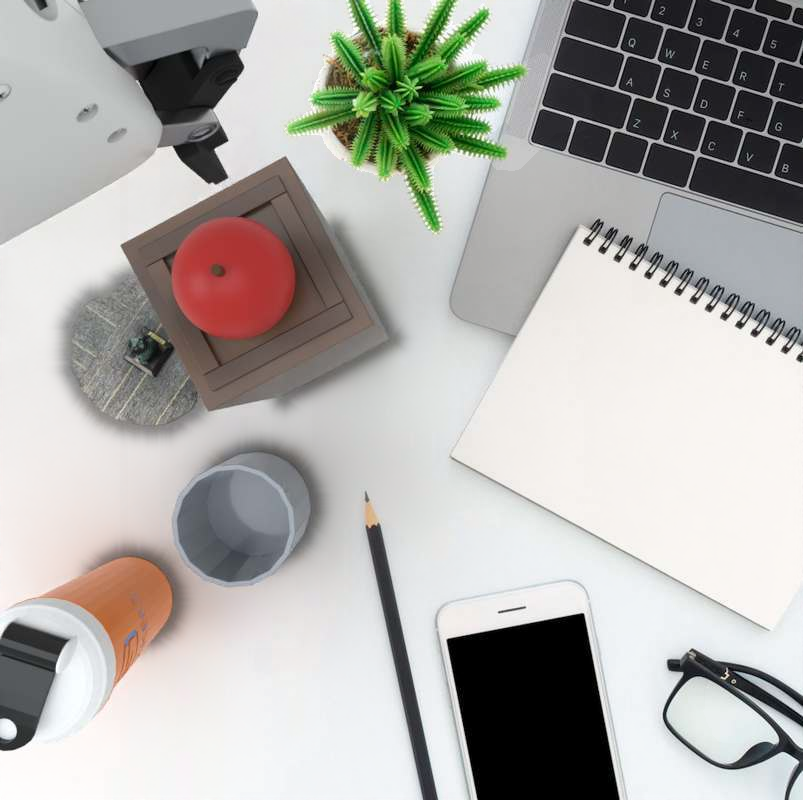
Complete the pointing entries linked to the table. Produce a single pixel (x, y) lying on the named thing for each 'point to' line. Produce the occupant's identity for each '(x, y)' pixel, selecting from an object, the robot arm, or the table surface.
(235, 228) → the apple
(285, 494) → the steel cup
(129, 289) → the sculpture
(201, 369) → the crate
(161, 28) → the robot arm
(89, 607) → the shaker bottle
